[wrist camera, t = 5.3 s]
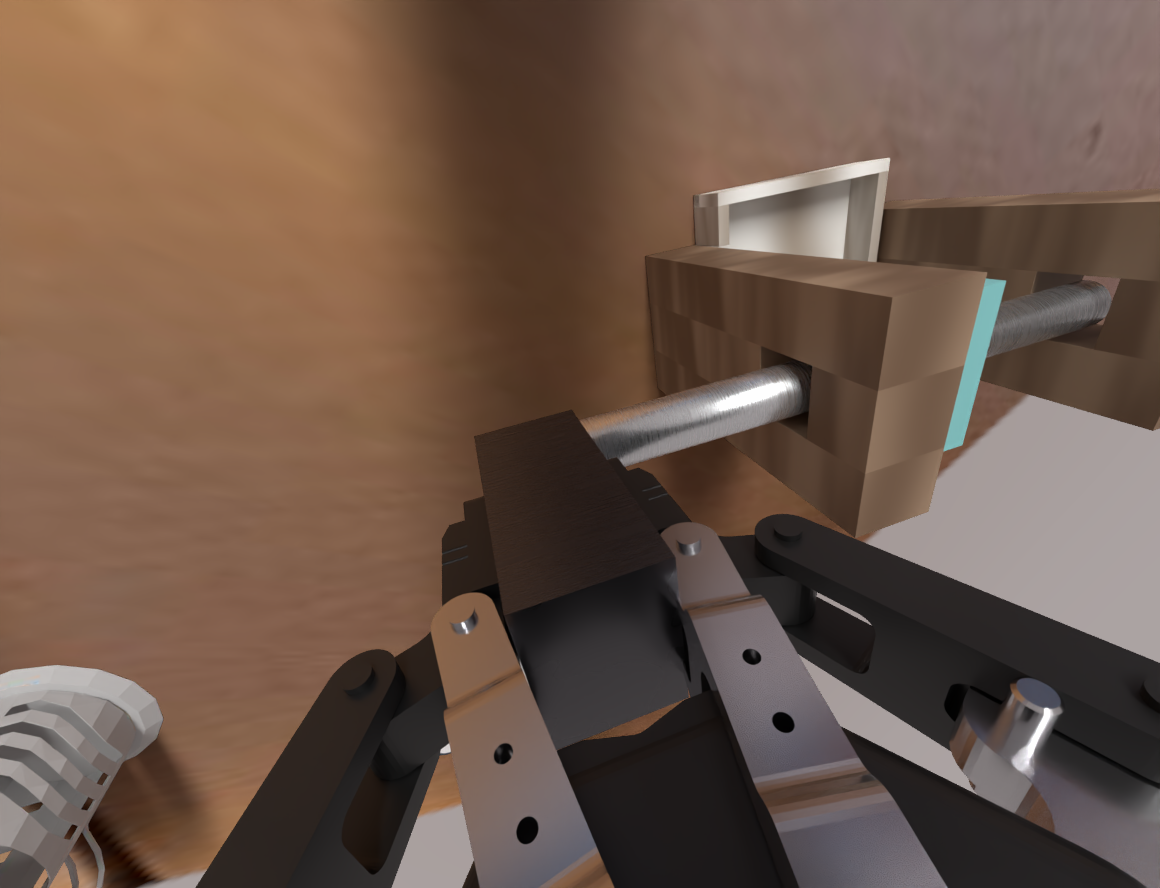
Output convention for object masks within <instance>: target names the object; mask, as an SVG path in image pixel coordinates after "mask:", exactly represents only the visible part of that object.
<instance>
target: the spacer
mask: <svg viewBox="0 0 1160 888" xmlns="http://www.w3.org/2000/svg"><path fill="white" fill-rule="evenodd" d="M1005 284H1006V281H1005V280H995V279H986V280H985V284H984V288H983V292H982V296H981V300H980V305H979V309H978V313H977V317H976V321H975V325H974V329H973V333H972V337H971V341H970V345H969V349H968V353H967V357H966V361H965V365H964V369H963V373H962V377H961V382H960V386H959V390H958V394H957V398H956V402H955V406H954V410H953V414H952V418H951V422H950V426H949V430H948V434H947V438H946V442H945V446H944V450H943V451H946V450H949V449H952V448H955V447H958V446H961V445H962V444H963V440H964V437H965V433H966V429H967V425H968V422H969V418H970V414H971V411H972V407H973V403H974V399H975V396H976V392H977V388H978V384H979V381H980V377H981V373H982V370H983V366H984V362H985V358H986V355H987V351H988V347H989V344H990V340H991V336H992V332H993V329H994V325H995V321H996V317H997V314H998V310H999V306H1000V303H1001V299H1002V295H1003V291H1004V288H1005Z"/></svg>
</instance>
